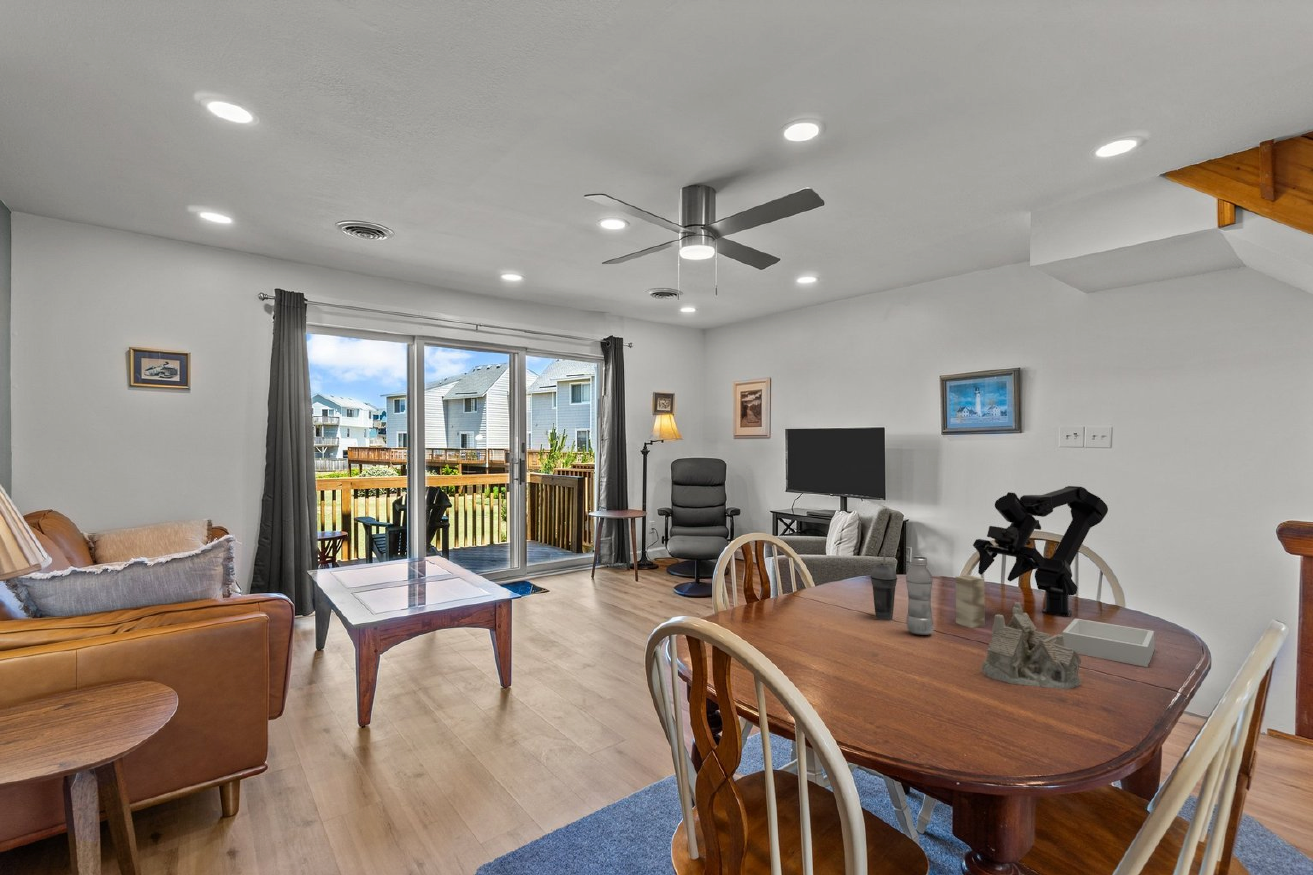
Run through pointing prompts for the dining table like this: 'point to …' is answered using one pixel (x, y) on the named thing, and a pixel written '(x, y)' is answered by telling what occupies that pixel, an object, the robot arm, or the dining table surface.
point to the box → (1110, 641)
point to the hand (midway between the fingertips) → (993, 576)
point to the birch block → (970, 601)
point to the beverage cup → (883, 590)
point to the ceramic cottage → (1029, 655)
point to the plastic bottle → (919, 597)
